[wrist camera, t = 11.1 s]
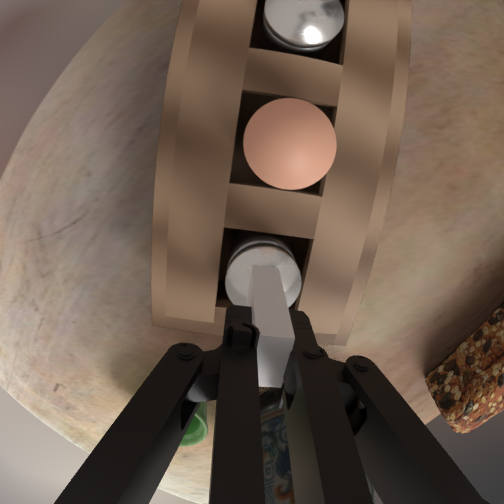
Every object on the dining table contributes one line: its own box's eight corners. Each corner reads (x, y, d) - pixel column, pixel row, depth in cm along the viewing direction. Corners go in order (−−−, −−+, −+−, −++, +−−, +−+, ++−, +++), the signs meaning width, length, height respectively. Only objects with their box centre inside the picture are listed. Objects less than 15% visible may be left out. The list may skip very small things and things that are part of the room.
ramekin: (224, 392, 32) (221, 421, 28) (193, 428, 35) (189, 454, 31) (150, 360, 30) (140, 388, 26) (129, 401, 33) (120, 427, 29)
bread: (517, 279, 28) (564, 316, 19) (526, 322, 31) (563, 357, 22) (417, 375, 33) (449, 431, 23) (440, 403, 35) (466, 450, 26)
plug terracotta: (249, 106, 19) (250, 91, 13) (314, 116, 19) (342, 108, 13) (240, 169, 20) (237, 182, 14) (304, 178, 21) (327, 196, 14)
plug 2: (264, 13, 18) (270, -25, 11) (322, 24, 18) (346, -9, 12) (256, 63, 19) (259, 35, 13) (315, 73, 19) (340, 51, 13)
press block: (209, -11, 18) (197, -53, 11) (374, 19, 19) (411, -9, 12) (172, 281, 27) (152, 325, 20) (325, 299, 28) (345, 345, 21)
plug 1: (234, 214, 23) (229, 244, 17) (292, 222, 23) (308, 253, 17) (228, 268, 24) (222, 312, 18) (282, 275, 25) (293, 319, 19)
